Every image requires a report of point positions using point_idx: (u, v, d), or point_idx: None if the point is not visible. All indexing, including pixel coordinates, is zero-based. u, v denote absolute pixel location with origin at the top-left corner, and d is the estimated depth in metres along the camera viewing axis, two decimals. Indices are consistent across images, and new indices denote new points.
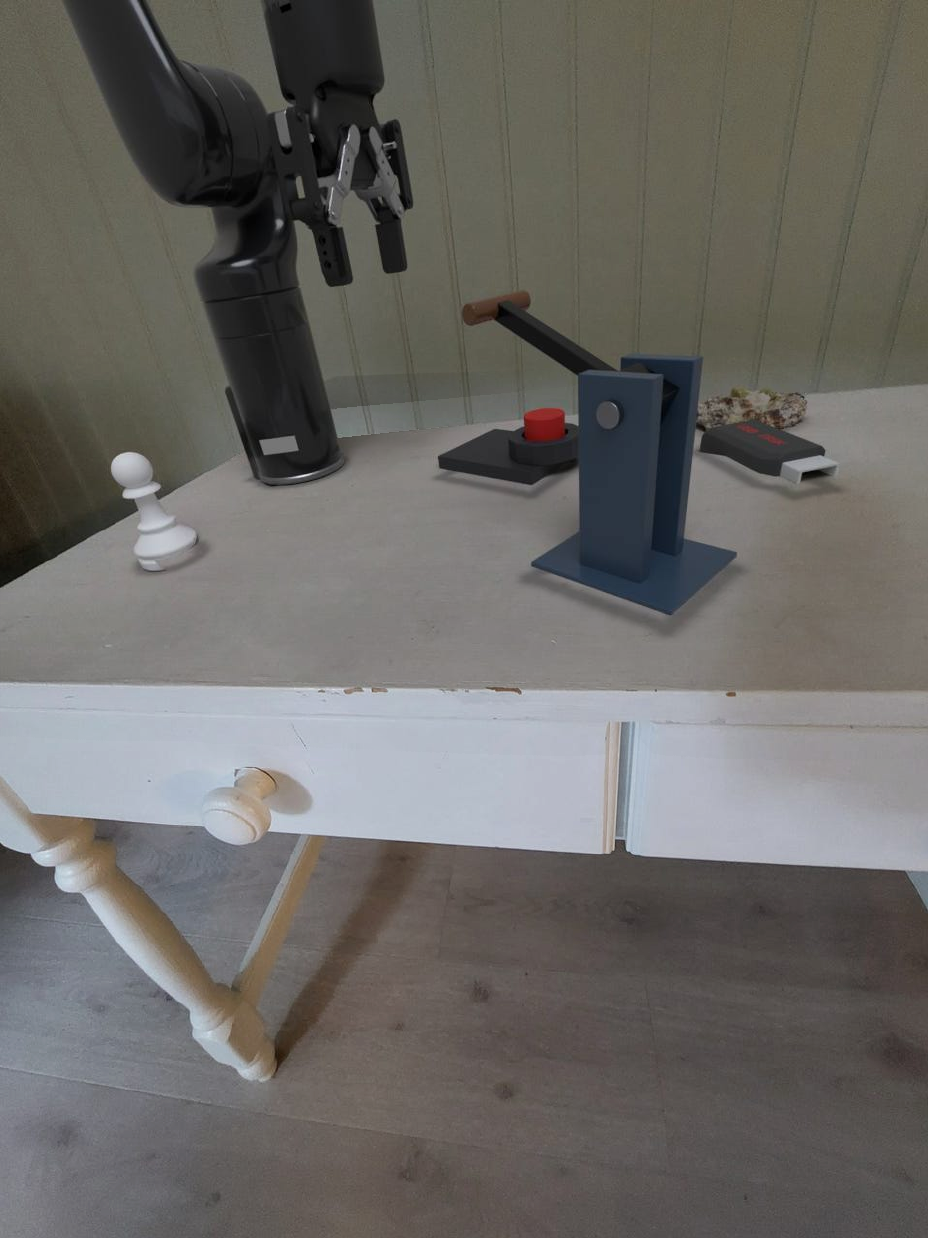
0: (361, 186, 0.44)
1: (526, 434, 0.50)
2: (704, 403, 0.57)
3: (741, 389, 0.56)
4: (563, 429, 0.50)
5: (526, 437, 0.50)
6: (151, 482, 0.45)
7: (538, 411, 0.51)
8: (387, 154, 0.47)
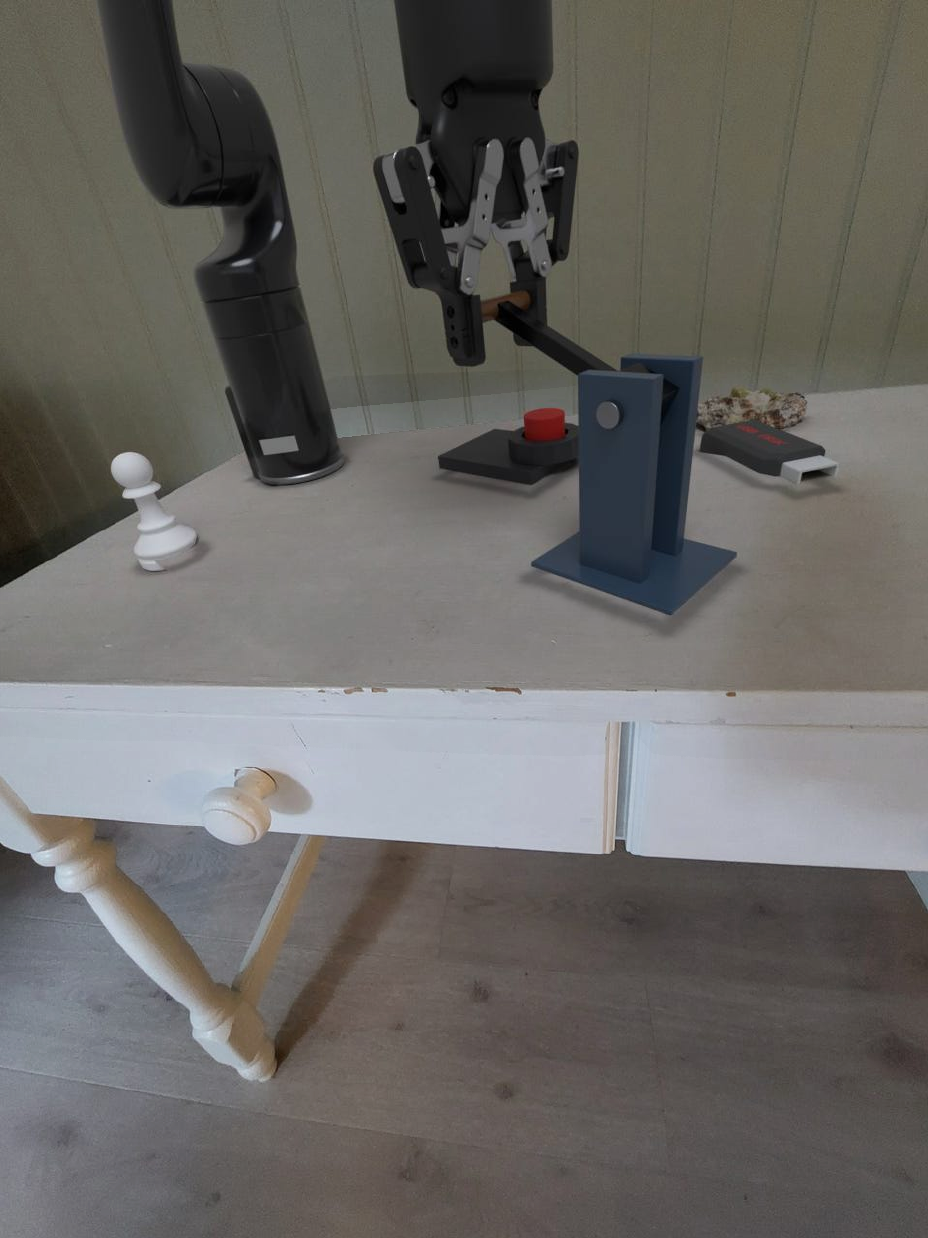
0: (502, 220, 0.32)
1: (526, 434, 0.50)
2: (704, 403, 0.57)
3: (741, 389, 0.56)
4: (563, 429, 0.50)
5: (526, 437, 0.50)
6: (151, 482, 0.45)
7: (538, 411, 0.51)
8: (548, 183, 0.34)
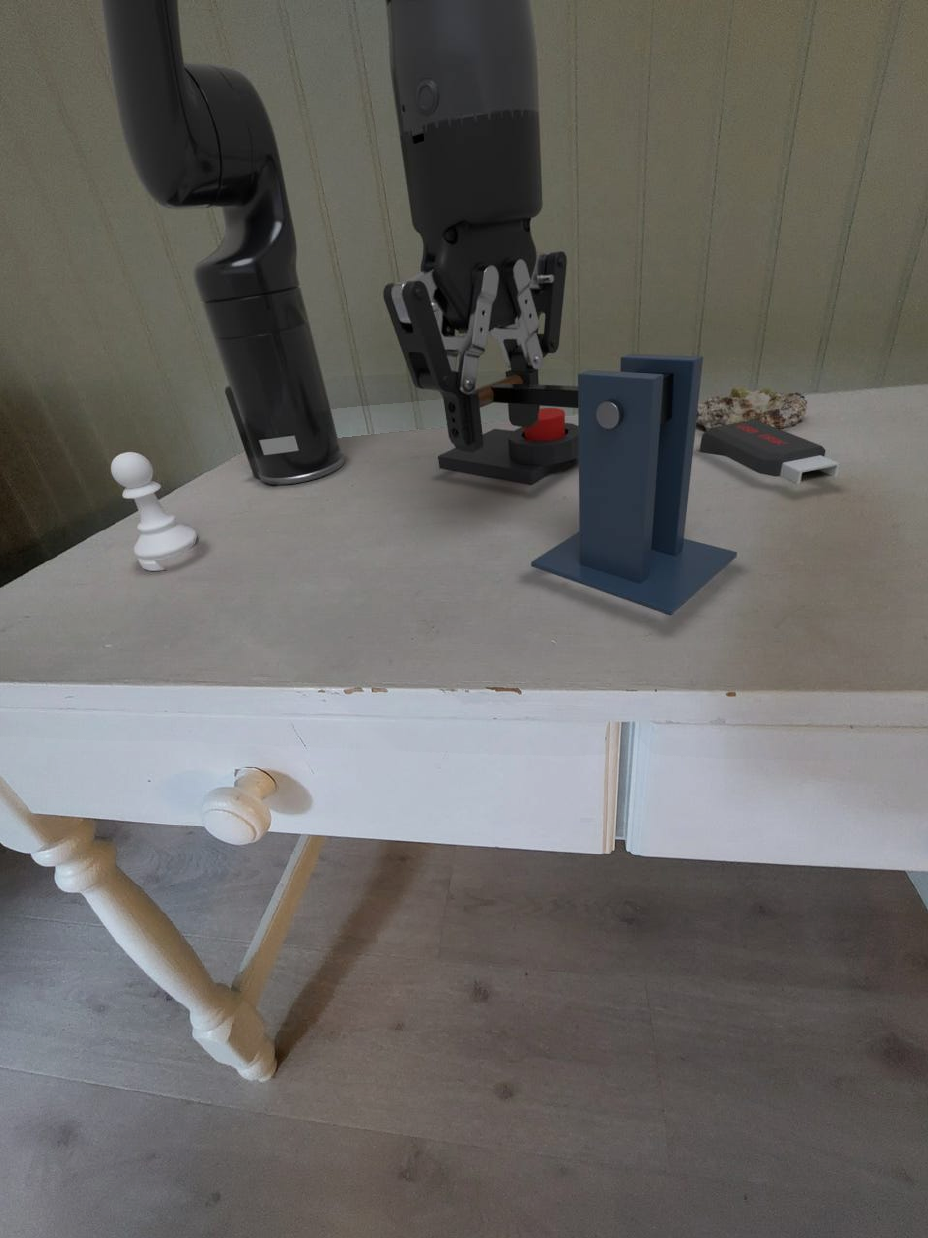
0: (498, 326, 0.36)
1: (526, 434, 0.50)
2: (704, 403, 0.57)
3: (741, 389, 0.56)
4: (563, 429, 0.50)
5: (526, 437, 0.50)
6: (151, 482, 0.45)
7: None
8: (539, 288, 0.37)
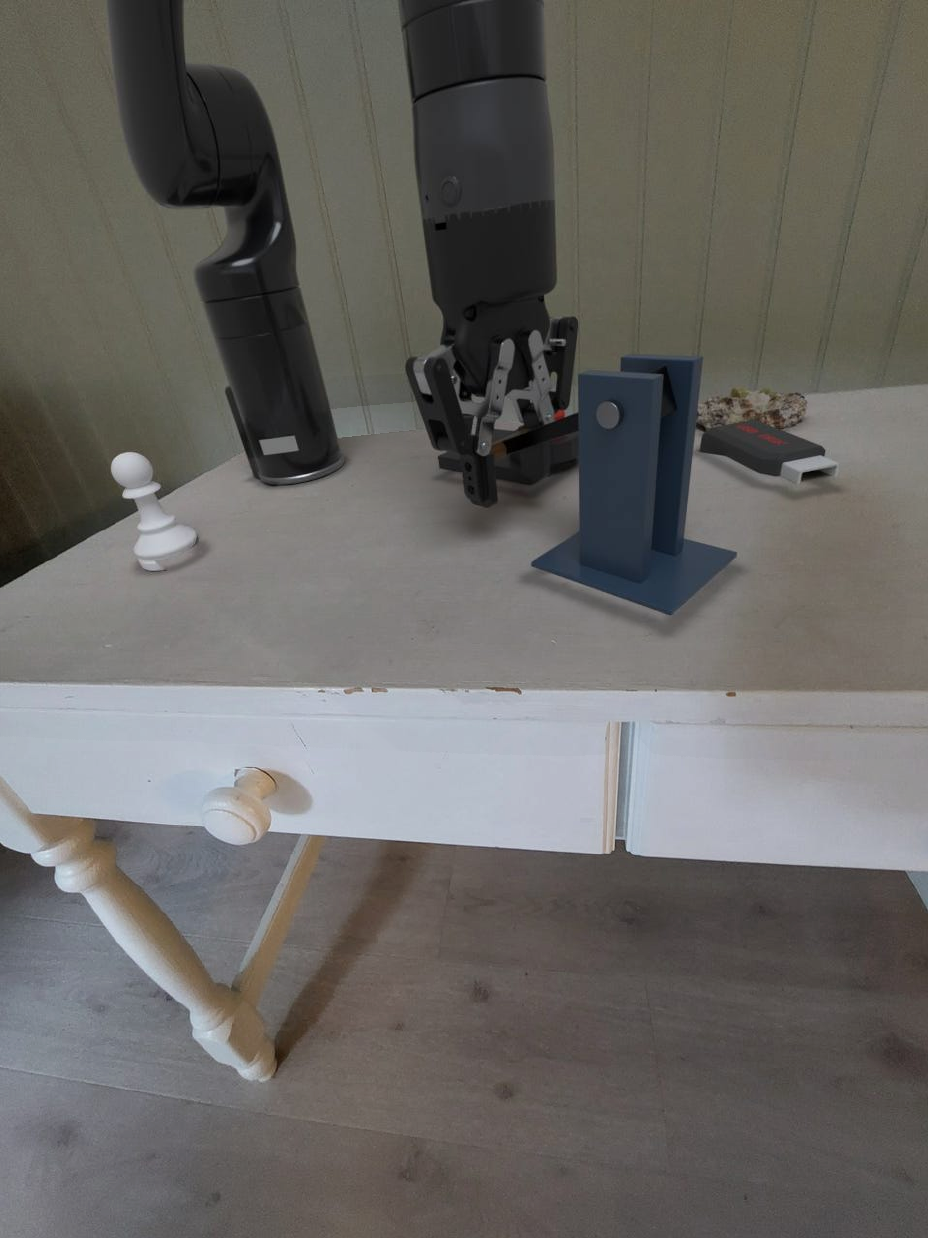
0: None
1: None
2: (704, 403, 0.57)
3: (741, 389, 0.56)
4: None
5: None
6: (151, 482, 0.45)
7: None
8: (551, 350, 0.39)
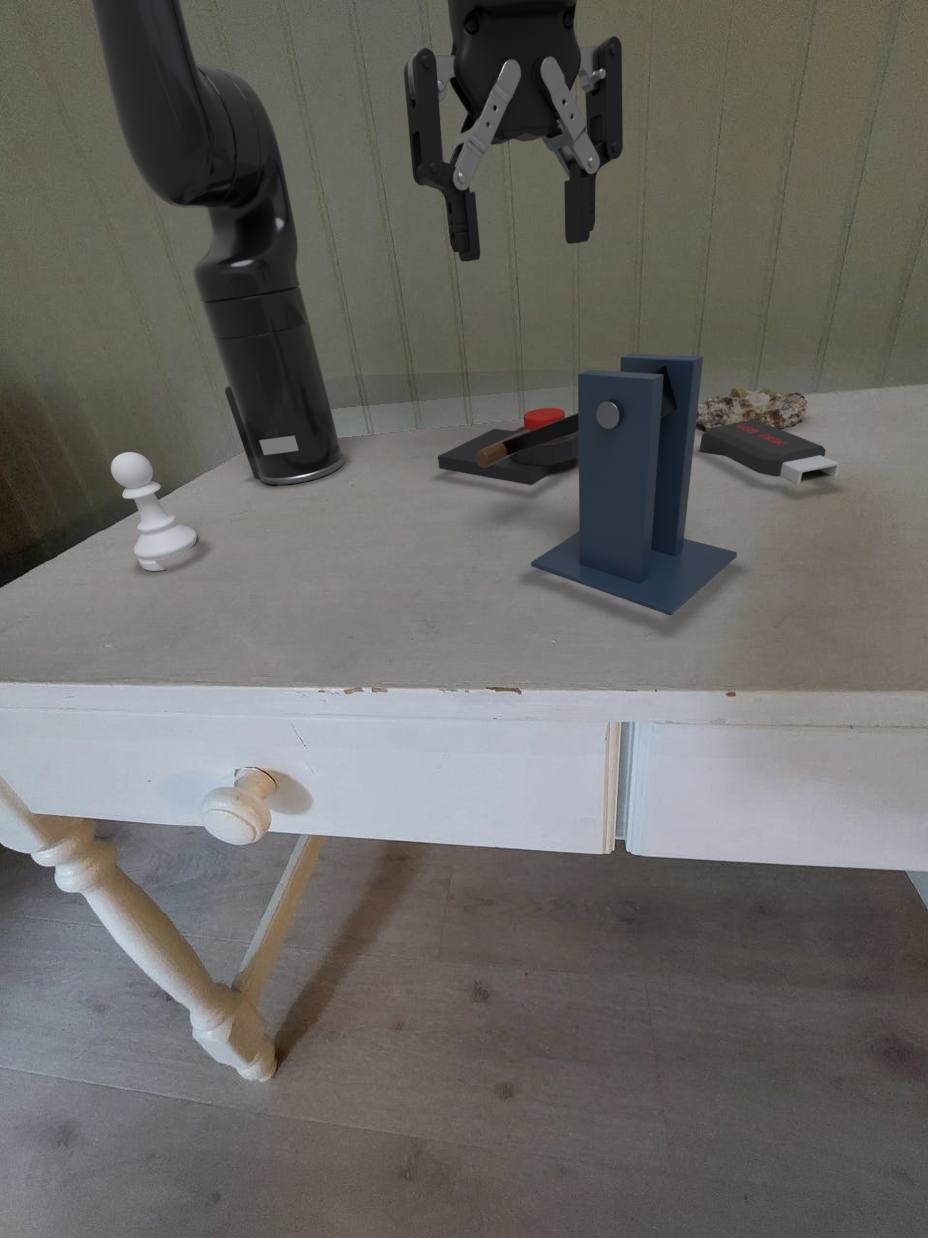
0: (529, 136, 0.36)
1: None
2: (704, 403, 0.57)
3: (741, 389, 0.56)
4: None
5: None
6: (151, 482, 0.45)
7: (538, 411, 0.51)
8: (592, 88, 0.36)
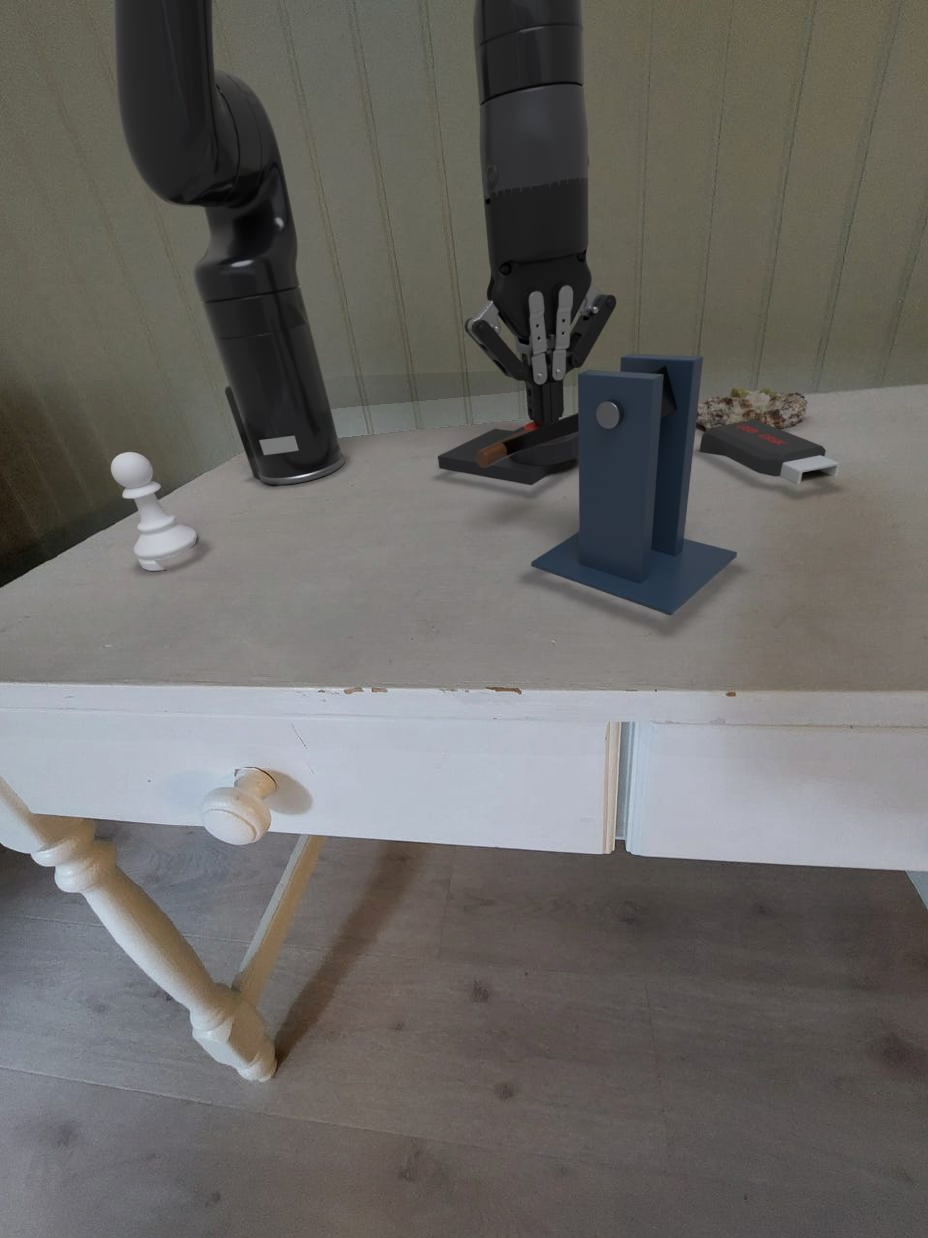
0: None
1: None
2: (704, 403, 0.57)
3: (741, 389, 0.56)
4: None
5: None
6: (151, 482, 0.45)
7: None
8: (585, 314, 0.46)
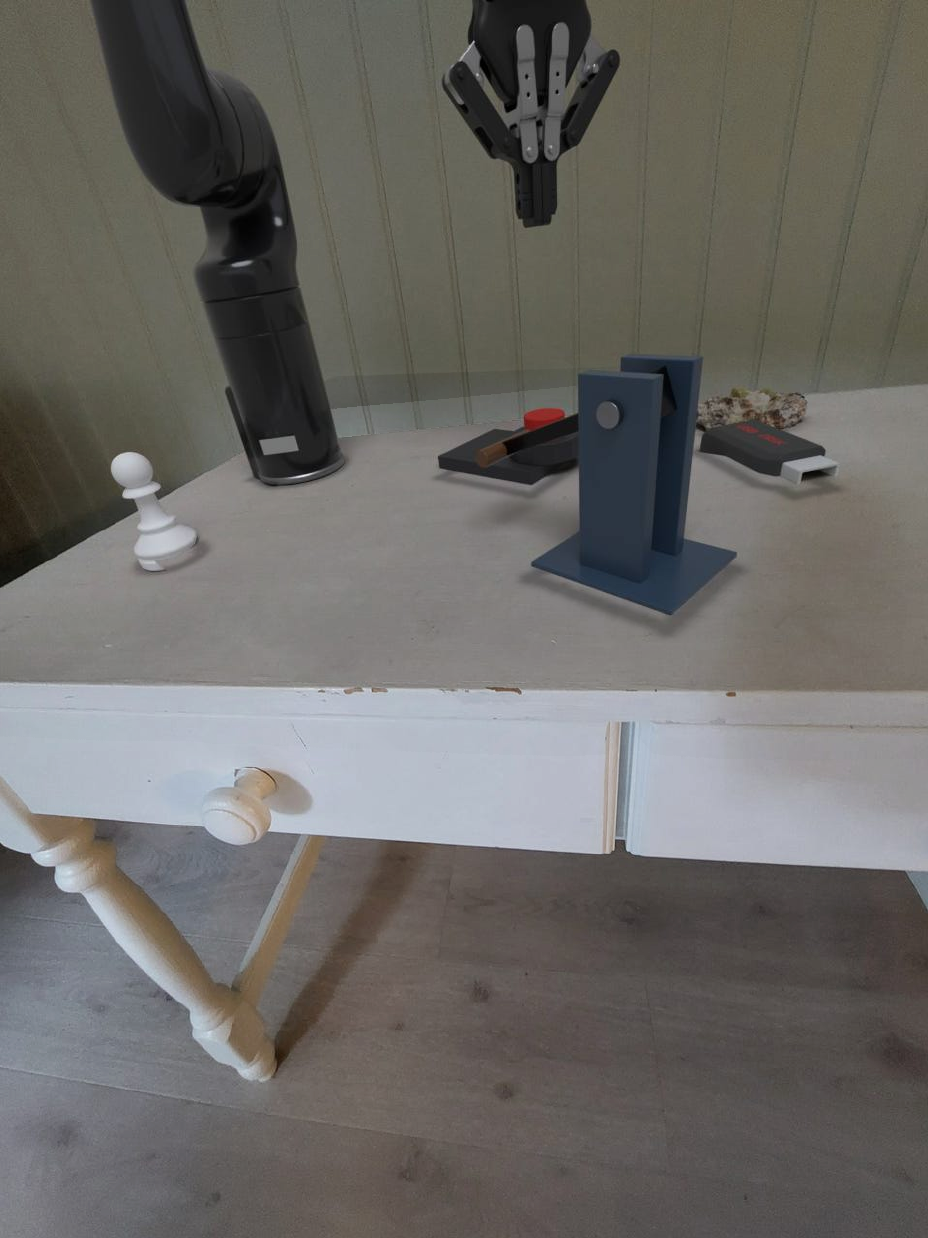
0: (542, 98, 0.39)
1: None
2: (704, 403, 0.57)
3: (741, 389, 0.56)
4: None
5: None
6: (151, 482, 0.45)
7: (538, 411, 0.51)
8: (583, 76, 0.40)
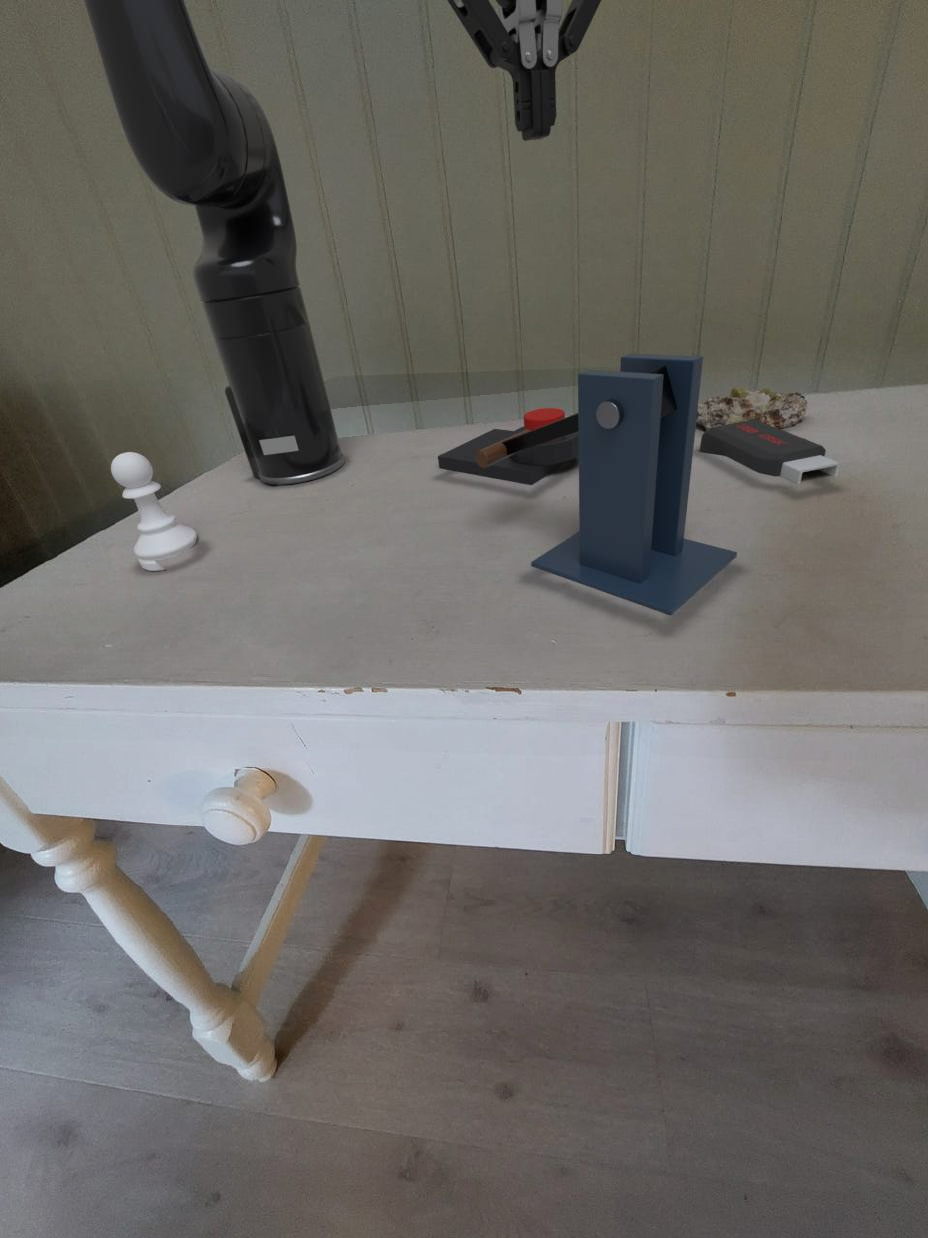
0: (540, 2, 0.40)
1: None
2: (704, 403, 0.57)
3: (741, 389, 0.56)
4: None
5: None
6: (151, 482, 0.45)
7: (538, 411, 0.51)
8: None
